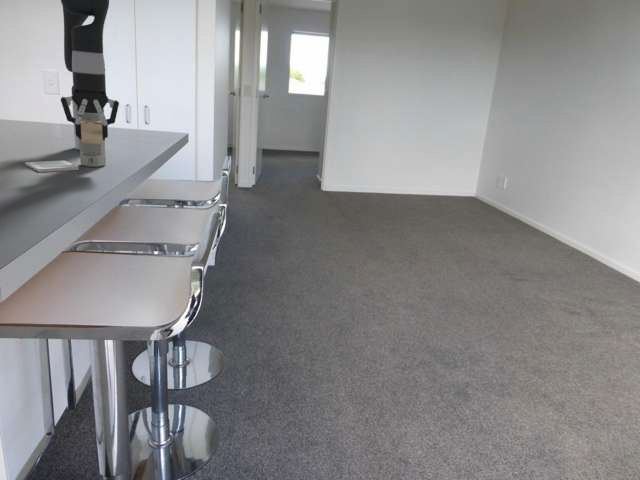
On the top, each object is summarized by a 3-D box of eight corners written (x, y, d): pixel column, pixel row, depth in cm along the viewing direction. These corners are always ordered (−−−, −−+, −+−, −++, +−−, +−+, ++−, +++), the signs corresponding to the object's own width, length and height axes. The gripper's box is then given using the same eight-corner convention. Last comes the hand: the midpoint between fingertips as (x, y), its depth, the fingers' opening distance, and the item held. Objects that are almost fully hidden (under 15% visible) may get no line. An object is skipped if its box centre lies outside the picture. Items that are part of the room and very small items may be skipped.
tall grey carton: (111, 165, 145) (108, 93, 139) (94, 168, 139) (90, 93, 133) (92, 162, 147) (89, 91, 141) (74, 165, 141) (70, 91, 135)
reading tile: (25, 165, 135) (25, 161, 135) (64, 163, 142) (64, 160, 142) (38, 172, 129) (38, 168, 129) (78, 169, 136) (78, 166, 136)
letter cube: (81, 139, 133) (80, 120, 131) (102, 140, 135) (101, 121, 133) (81, 143, 129) (80, 122, 127) (102, 143, 131) (102, 123, 129)
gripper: (56, 69, 120) (61, 140, 126) (120, 74, 126) (122, 142, 131) (57, 67, 126) (62, 135, 132) (118, 73, 132) (120, 137, 138)
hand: (92, 138), depth 132 cm, fingers closed on letter cube, 5 cm apart
